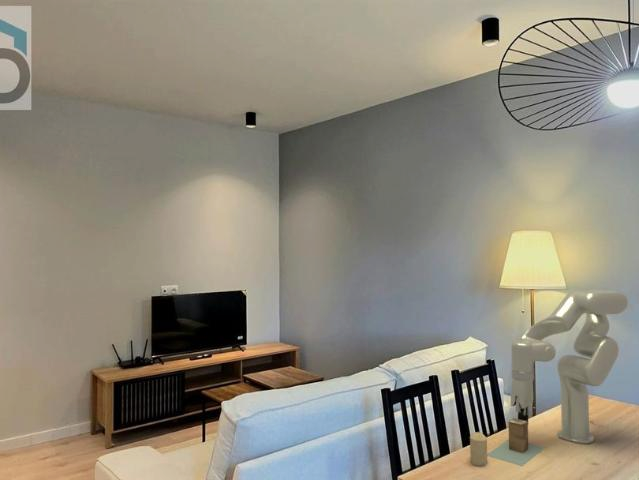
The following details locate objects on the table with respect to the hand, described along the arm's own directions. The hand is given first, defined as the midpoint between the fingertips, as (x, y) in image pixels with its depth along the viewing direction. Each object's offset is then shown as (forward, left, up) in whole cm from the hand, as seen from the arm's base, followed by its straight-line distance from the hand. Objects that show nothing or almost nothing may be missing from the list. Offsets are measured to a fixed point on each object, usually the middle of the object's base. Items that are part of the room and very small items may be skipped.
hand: (523, 424), depth 181 cm
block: (+5, 0, -8) cm, 9 cm away
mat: (+7, 0, -8) cm, 11 cm away
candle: (+24, -6, -8) cm, 26 cm away
